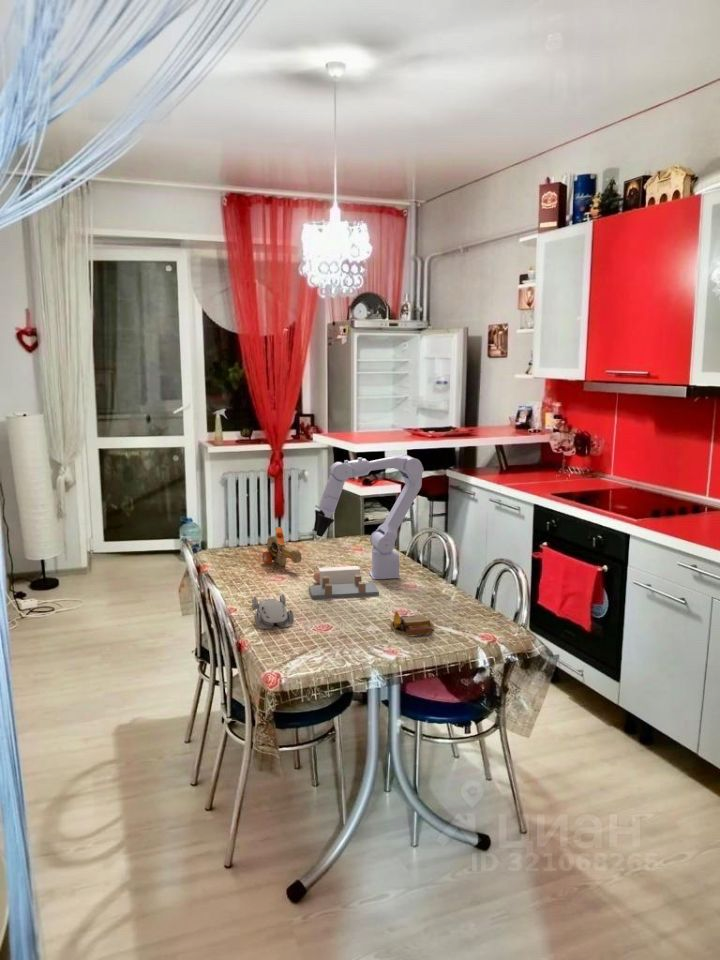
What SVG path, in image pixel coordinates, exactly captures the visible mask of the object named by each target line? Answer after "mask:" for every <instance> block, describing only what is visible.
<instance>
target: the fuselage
mask: <svg viewBox="0 0 720 960" xmlns="http://www.w3.org/2000/svg"><path fill="white" fill-rule="evenodd" d="M317 569H318V570H317V571H315V572H314V573H313V580H314V582H316V583H318V585H322V576H328V577H329V584H330V583H331V585H332V584H351V583H355V578H354V575H356V574H360V575H361V568H360V566H358V565H353V566H351V565H350V566H349V565H348V566H330V567H328V566H327V567H318V568H317Z"/></svg>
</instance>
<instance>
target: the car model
mask: <svg viewBox="0 0 720 960" xmlns="http://www.w3.org/2000/svg"><path fill="white" fill-rule="evenodd" d="M251 600H252V607H253V609H254V608H255V609H257V611H256V613H254V624H255V623H256V624H255V626H256V627H258V628H259V629H262V630H271V629H272V628H277V627H278V628H280V629H285V628H290V627H291V626H292V625H293V623H294V620H295V618H294V611H293V609H289V610H287V608H286V607H285V606H286V603H287V602H286V601H287V600H286V595H285V594H283V593H282V594H280V595H279V600H277V599H274V598H268V599H264V600H262V601H260V602H258V596H252V598H251ZM255 609H254V610H255Z"/></svg>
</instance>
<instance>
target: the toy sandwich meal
mask: <svg viewBox="0 0 720 960" xmlns="http://www.w3.org/2000/svg"><path fill="white" fill-rule="evenodd" d="M434 627H435V625H434V623H433V622H431V620H430V619H428V617H427V616H425V615H418V616H417V615H410V616H409V615H399V612H398V611H395V612H394V616H393V620H392V621H391V622H390V628H391V630H393V632H395V633H397V634H399V635H402V634H403V636H408V635H418V636H422V634H424V635H426V633H427V634H428V632H429V633H430V632H432V631H433V629H434Z"/></svg>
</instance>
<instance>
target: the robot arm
mask: <svg viewBox="0 0 720 960" xmlns="http://www.w3.org/2000/svg"><path fill="white" fill-rule="evenodd" d="M385 469H386V470H388V469H394V470H398V472H399V473H400V474H401V476H402V477H403V481H404V486H403V488H402V490H401V491H400V493H399V495H398V497H397V499H396V500H395V503H394V504H393V506H392V508H391V509H390V512H388V515H387V517H386V518H385V520H384V522H382V523H381V524H380V525H379V526H378V527H377V529H375V531H373V532H372V533H371V535H370V537H369V542H370V545H371V546H372V550H371V571H369V574H370V576H371V578H372V579H373V580H387V579H399V578H400V557H399V556H400V555H399V552H398V550H394V549H395V545H396V541H397V538H398V529H399V528H400V526H401V524H402V523H403V520H404V519H405V517H406V515H407V514H408V512H409V510H410V508H411V506H412V505H413V503H414V501H415V499H416V497H417V495H418V493H419V492H420V490H421V488H422V485H423V483H422V481H423V472H424V471H425V470H424V466H423V464H422V462H421V461H420V459H418V458H415V457H412V456H410V455H407V454H403V455H398V454H397V455H392V456H389V457H388V456H387V457H384V458H379V459H375V460H374V459H373V460H370V461H369V460H367V459H366V458H363V457H357V459H354V460H348V459H346V460H345V459H344V461H343V462H342V461H336V462H334V463H332V464H331V466H329V469H328V472H329V476H328V479H327V481H326V484H325V487H324V490H323V493H322V495H321V498H320V502H319V504H315V505H314V507H315V508H317V509H319V510H317V509H315V510H314V513H315V516H314V518H315V519H314V525H313V531H314V532H316V534H315V535H316V536H317V537H322V538H323V537H324V535H325V533H326V532H327V530H328V528H329V527H330V526H331V524H333V523H334V522H335V520H334V519H333V518H332V515H334V514H335V513H336V508H337V505H338V503H339V500H340V497H341V494H342V492H343V488H344V485H345V483H346V481H347V480H349V478H350V479H352V478H357V477H363V476H368V475H369V473H370V472H371V471H378V470H385Z"/></svg>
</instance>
